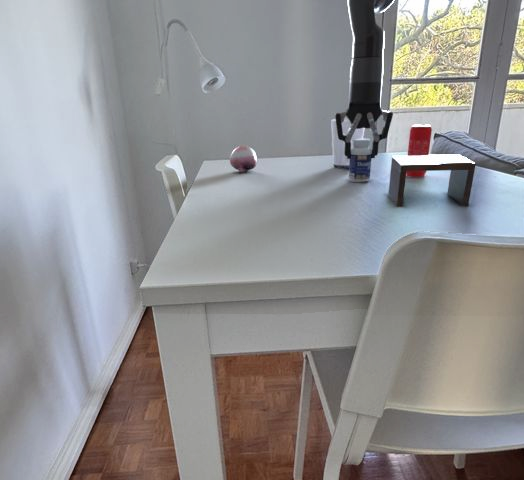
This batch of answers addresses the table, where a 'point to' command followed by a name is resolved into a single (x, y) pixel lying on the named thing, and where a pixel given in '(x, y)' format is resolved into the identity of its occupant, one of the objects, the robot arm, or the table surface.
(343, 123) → the cup
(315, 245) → the table surface
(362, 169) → the pill bottle
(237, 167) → the onion
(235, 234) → the table surface
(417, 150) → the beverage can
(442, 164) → the shelf
